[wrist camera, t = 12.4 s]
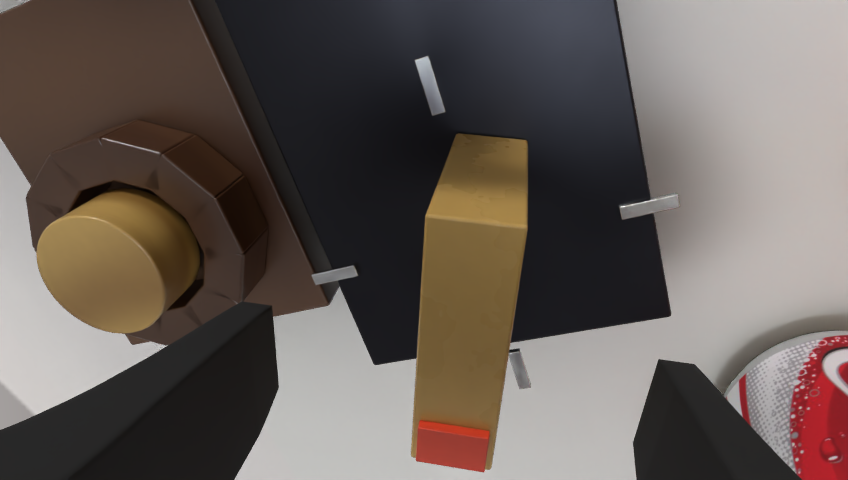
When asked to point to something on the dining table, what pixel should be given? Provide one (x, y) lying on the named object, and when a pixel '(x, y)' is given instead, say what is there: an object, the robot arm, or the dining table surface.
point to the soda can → (800, 402)
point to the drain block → (159, 144)
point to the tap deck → (433, 137)
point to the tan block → (469, 299)
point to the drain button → (119, 260)
